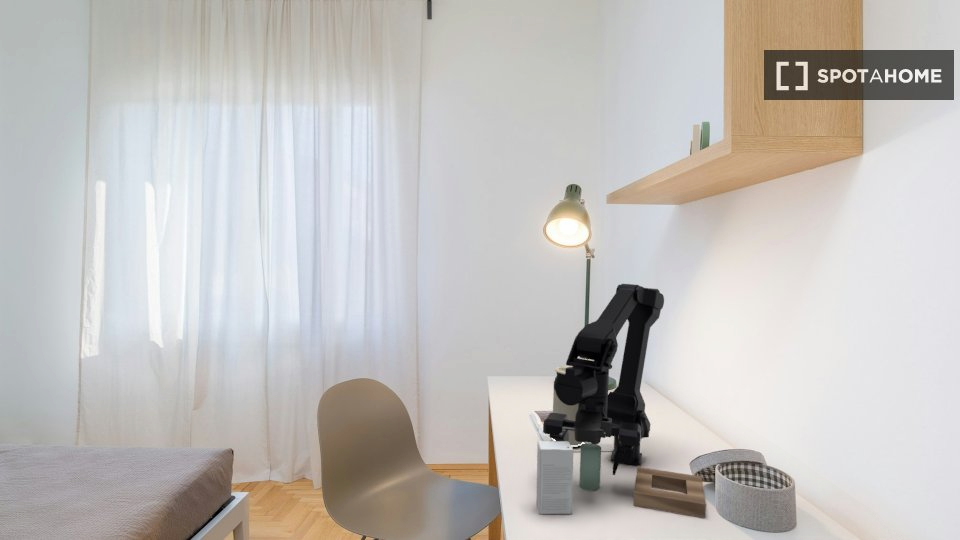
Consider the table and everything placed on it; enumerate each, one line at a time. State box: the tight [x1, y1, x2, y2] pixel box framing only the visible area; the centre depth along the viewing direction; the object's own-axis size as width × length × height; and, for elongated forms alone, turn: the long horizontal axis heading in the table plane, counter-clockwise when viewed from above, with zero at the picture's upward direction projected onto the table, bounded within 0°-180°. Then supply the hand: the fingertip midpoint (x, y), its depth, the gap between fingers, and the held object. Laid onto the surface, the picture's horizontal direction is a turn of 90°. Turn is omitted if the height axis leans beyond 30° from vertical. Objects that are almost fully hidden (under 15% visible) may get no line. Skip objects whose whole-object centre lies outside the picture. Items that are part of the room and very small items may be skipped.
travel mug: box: [552, 365, 582, 445], centre depth 133 cm, size 8×8×18 cm
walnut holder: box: [633, 466, 707, 519], centre depth 106 cm, size 12×12×2 cm
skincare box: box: [535, 440, 574, 515], centre depth 100 cm, size 6×4×12 cm
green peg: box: [578, 442, 602, 491], centre depth 110 cm, size 4×4×8 cm
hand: (590, 470), depth 110 cm, fingers open, 9 cm apart
